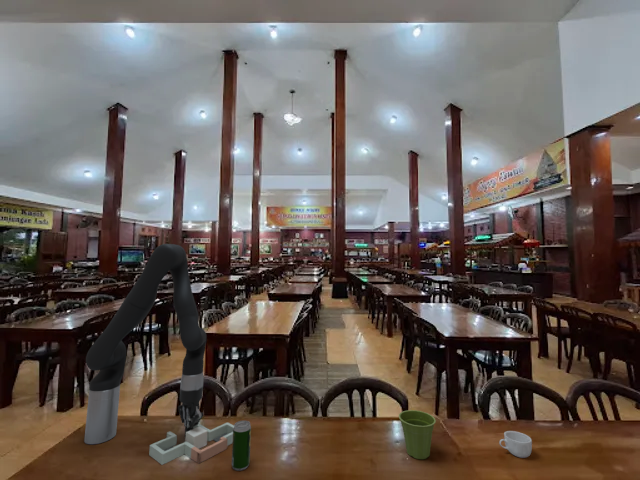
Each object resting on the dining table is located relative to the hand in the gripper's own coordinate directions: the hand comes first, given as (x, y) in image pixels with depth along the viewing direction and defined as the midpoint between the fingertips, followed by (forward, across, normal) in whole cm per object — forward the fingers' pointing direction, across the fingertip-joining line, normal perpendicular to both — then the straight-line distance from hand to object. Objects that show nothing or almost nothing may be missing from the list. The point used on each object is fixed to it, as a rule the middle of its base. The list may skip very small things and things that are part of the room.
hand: (188, 437), depth 107 cm
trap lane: (+1, +5, 0) cm, 5 cm away
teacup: (+1, +93, +62) cm, 112 cm away
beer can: (+1, +26, +2) cm, 26 cm away
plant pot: (+1, +67, +42) cm, 79 cm away
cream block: (+1, +5, 0) cm, 5 cm away
